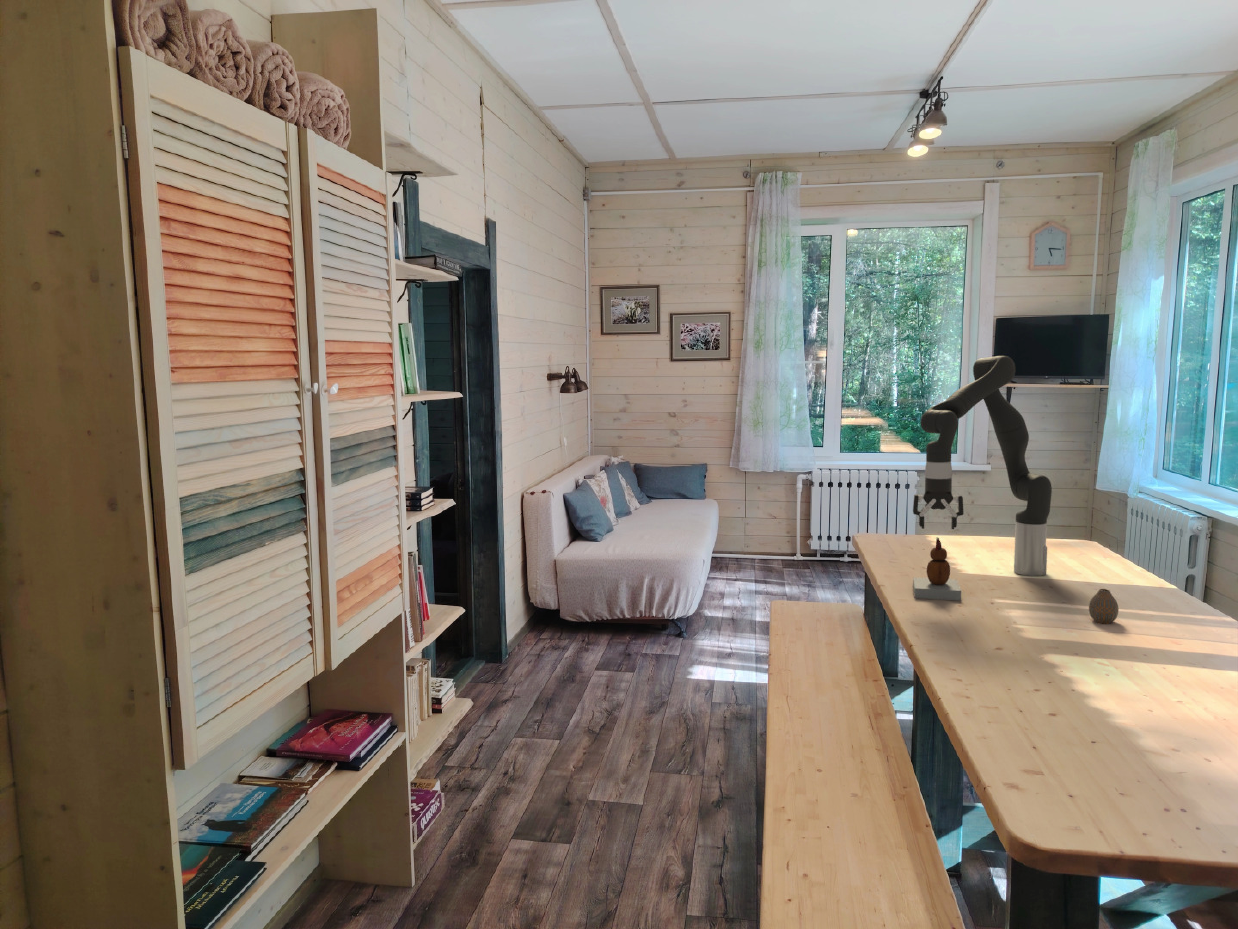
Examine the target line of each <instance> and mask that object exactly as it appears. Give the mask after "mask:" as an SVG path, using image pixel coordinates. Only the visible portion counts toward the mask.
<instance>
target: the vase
mask: <svg viewBox="0 0 1238 929" xmlns="http://www.w3.org/2000/svg"><path fill="white" fill-rule="evenodd" d="M1119 609H1120V608H1119V604H1118V601H1117V599H1116V598H1115V597H1114V596H1113V595H1112V593H1111V591H1110V589H1107V588H1100V589H1099V590H1098V591H1097V592H1096V593H1095V594H1094V595H1093V596H1092V597H1091V599H1090V600H1089V603H1088V612H1089V615H1090V617H1091V619H1092V620H1093V621H1094V622H1096V623H1100V624H1111V623H1113V622H1115V621H1116V620H1117V618H1118V616H1119V611H1120V610H1119Z"/></svg>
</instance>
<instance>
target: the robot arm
mask: <svg viewBox="0 0 1238 929" xmlns="http://www.w3.org/2000/svg"><path fill="white" fill-rule="evenodd" d="M972 373H973V377H974V378H973V379H974V381H972V382H970V383H968V384H966V385H964V386H962V387H960V388H959V389H957V390H956V391H954V392H953V393H952V394H951V395H950V396H949V397H947V398H946V399H945V400H944V401H941V402H940V403H937V404H935V405H934V406H931V407H930V408H928V409H927V410H926V411H925V412H924V413H923V414H922V415H921V418H920V427H921V429H922V430H923V431H924V432H926V433H928V434H939V437H938V438H937V440H933V441H930V442H928V443H927V444H926V447H925V448H926V453H925V456H926V458H925V461H926V462H925V468H924V494H923V495H922V494H917V493H915V494H913V505H912V506H913V507H912V514H913V515H917V516H918V517H919V519H918V525H919V527H920V528H921V529H923V530H925V514H926V513H927V512H928V511H929V510H930V509H931V510H942V511H943V510H945V509H946V510H947V511H948V512H949V513H950V514H951V516H950V517H951V519H950V520H951V522H950V523H951V524H950V526H951V528H950V529H951V530H955V528H957V527H958V525H957V523H958V517H960V516H964V515H965V514H964V497H963V496H962V494H957V495H953V494H952V483H953V482H952V481H953V480H952V479H953V467H952V447H953V443H954V440H955V438H956V433H957V432H958V431H957V430H958V426H959V419H961V418H963V417H964V416H965V415H966V414H967V413H968V412H969V411H970V410H972V408H974V407H975V406H976V405H977V404H978V403H979V402H981V401H984V403H985V406H986V409H987V411H988V414H989V416H990V419H991V423H992V426H993V430H994V434H995V436H996V439H997V441H998V444H999V448H1000V450H1001V454H1002V457H1003V460H1004V463H1005V466H1006V473H1007V477H1008V483H1009V487H1010V491H1011V492H1012V494H1013V496H1014V497H1015V499H1018V500H1021V501H1025V502H1026V508H1025V509H1024V510H1020V511H1018V512H1016V514H1015V524H1014V525H1015V526H1014V527H1015V528H1014V529H1015V530H1014V532H1015V533H1014V556H1013V559H1014V560H1013V572H1014V574H1019V575H1021V576H1030V577H1039V576H1040V577H1041V576H1047V570H1048V569H1047V568H1048V565H1047V564H1048V546H1047V525H1048V524H1047V523H1048V517H1049V515H1050V512H1051V502H1052V495H1053V494H1052V491H1053V490H1052V489H1053V488H1052V482H1051V480H1050V479H1049V478H1048V477H1047V476H1046V475H1042V474H1037V473H1030V471H1029V468H1028V466H1027V462H1026V451H1027V448H1028V445H1029V442H1030V441H1029V440H1030V435H1029V431H1028V427H1027V425H1026V422H1025V418H1024V417H1023V415H1022V414H1021V413H1020V411H1018V410H1017V408H1016V407H1015V406H1013V405H1012V404H1011V403H1010V402H1009V401H1008V400H1007V399H1006V398H1005V397H1004V396H1003V394H1002V393H1001V390H1000V388H1002V387H1004V386H1007V385H1008V384H1009V383H1010V382H1011V381H1013V380H1014V377H1015V375H1016V363H1015V362H1014V360H1013V359H1012V358H1011V357H1009V356H1007V355H996V356H990V357H988V356H987V357H982V358H978V359H976V360H975V361H974V364H973V367H972ZM922 500H924V502H925V505H924V506H923V507H922V509H921V510H918V509H919V503H921V502H922ZM953 500H954V501H955V503H957V508H958V509H957V510H956V511H955V509H954V508H953V507H952V505H951V503H952V502H953Z"/></svg>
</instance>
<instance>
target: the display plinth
mask: <svg viewBox="0 0 1238 929" xmlns="http://www.w3.org/2000/svg"><path fill="white" fill-rule="evenodd" d="M912 588H913V590H912V591H913V595H914V599H927V600H928V599H929V600H946V601H960V602H961V601H962V590H961V587H960V584H959V581H958V579H953V578H949V579H948V581H947V583H945V584H943V585H934V584H932V583H930V581H929V579H928V577H919V576H918V577H912Z"/></svg>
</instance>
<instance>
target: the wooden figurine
mask: <svg viewBox="0 0 1238 929" xmlns="http://www.w3.org/2000/svg"><path fill="white" fill-rule="evenodd" d="M935 539H936V541H935V547H932V549H931V550H930V554H929V556H930V558H931V560H929V561H928V564H927V566H926V575H927V578H928V579H929V581H930V583H932V584H934V585H943V584H945V583H947V581H948V579H950V576H951V575H950V574H951V566H950V562H949V561H948V560H946V559H947V558H948V552H947V550H946V548H943V547H942V542H941V540H940V537H938V536H937V537H936V538H935Z"/></svg>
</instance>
